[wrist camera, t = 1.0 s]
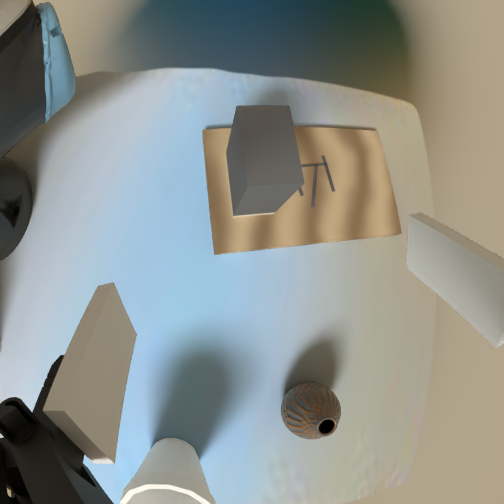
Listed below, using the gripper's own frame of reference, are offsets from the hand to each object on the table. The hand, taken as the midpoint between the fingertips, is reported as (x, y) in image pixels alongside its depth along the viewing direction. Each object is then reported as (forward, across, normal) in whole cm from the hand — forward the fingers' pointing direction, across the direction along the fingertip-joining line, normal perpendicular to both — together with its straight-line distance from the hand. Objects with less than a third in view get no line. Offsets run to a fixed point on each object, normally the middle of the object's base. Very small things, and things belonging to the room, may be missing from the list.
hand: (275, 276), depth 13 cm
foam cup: (+10, -15, -29) cm, 34 cm away
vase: (+14, +3, -27) cm, 31 cm away
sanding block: (+26, +3, -2) cm, 26 cm away
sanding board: (+28, +10, -4) cm, 30 cm away
